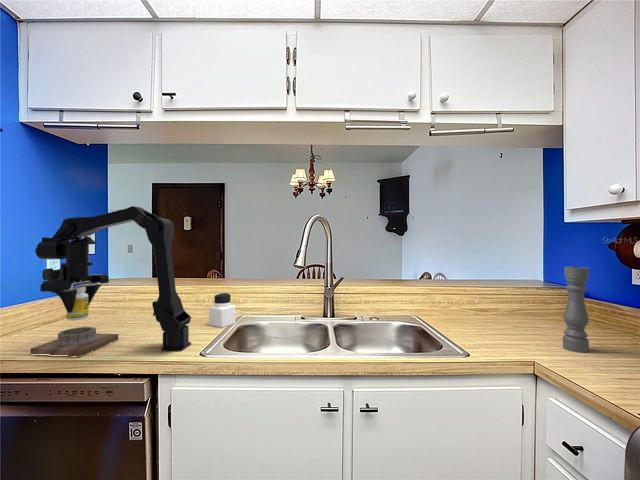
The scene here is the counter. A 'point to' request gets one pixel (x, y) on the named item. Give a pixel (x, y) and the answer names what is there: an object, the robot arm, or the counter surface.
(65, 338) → the brown base with ring
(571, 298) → the candle holder
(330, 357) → the counter surface
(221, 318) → the medicine bottle
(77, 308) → the supplement bottle
